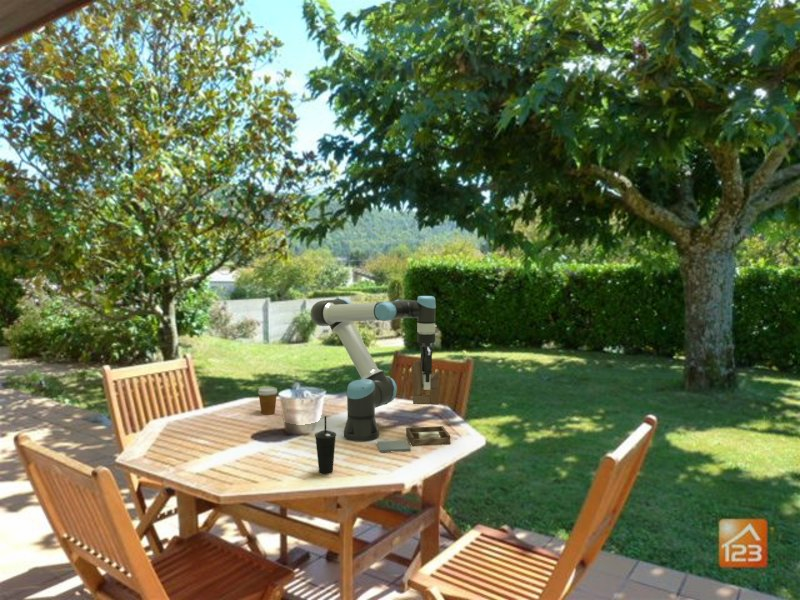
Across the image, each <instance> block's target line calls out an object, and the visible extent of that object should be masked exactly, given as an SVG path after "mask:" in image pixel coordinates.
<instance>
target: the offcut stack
mask: <svg viewBox="0 0 800 600" xmlns="http://www.w3.org/2000/svg"><path fill="white" fill-rule="evenodd" d="M418 436H419V439H427V438H441V437H440V435H439V433H438V432H418Z"/></svg>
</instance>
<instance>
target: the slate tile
mask: <svg viewBox="0 0 800 600" xmlns="http://www.w3.org/2000/svg"><path fill="white" fill-rule="evenodd" d="M376 445H377V448H378V447H379V448H378V450H379V453H380V452H383V453H392V452H391V451H402V452H411V451H410V450H411V449H412V448H411V447H410V445H409V442H408V441H407V440H406V439H401V440H400V439H399V440H398V439H397V440H382V441H380V440H378V441H376Z"/></svg>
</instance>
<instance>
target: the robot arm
mask: <svg viewBox="0 0 800 600" xmlns="http://www.w3.org/2000/svg"><path fill="white" fill-rule="evenodd" d="M436 304H437V303H436V298H435V296H432V295H419V296H417V299H416V300H415V299H414V300H411V299H396V300H394V301H379V302H378V301H377V302H363V303H362V302H360V303H359V302H358V303H351V302H350V301H349V300H347V299H343V298H335V299H328V300H327V299H326V300H319V301H317V302H316V303H314V304H313V305H312V307H311V309H310V318H311V320H312V321H313V323H315V325H318V326H320V327H328V326H329V329H331V331H332V333H335V334H337V335H338V337H339V339H340V341H341V343H342V345H343V347H344V349H345V351H346V352H347V355H348V356H349V358H350V360H351V361H352V363H353V365H354V366H355V369H356V371H357V373H358V374H359V376H360V378H361V379H356V380H353V381H351V382H349V384H348V385H347V390H346V391H347V392H346V397H347V398H346V399H347V401H346V402H347V403H346V404H347V405H346V406H347V411H346V413H347V417H346V418H347V419H346V422H345V426H344V429H343V438H344V439H346V440H347V441H353V442H366V441H367V442H368V441H373V440H375V439H378V438H379V436H380V430H379V427H378V424H377V421H376V413H375V412H376V408H379V407H381V406H385V405H388V404H389V403H391V402H393V400H394V399H395V398H396V397H397V392H398V388H397V384H396V381H395V379H394V378H392V377H389V376H387V375H386V374H385V371H384V370H383V369H379V368H378V366H377V364H376V362H375V360H374V359H373V356H372V354H371V353H370V351H369V350H368V348H367V346H366V345H365V343H364V341H363V339H362V337H361V335H360V333H359V331H358V330H357V328H356V326H355V322H367V321H368V322H369V321H370V322H371V321H382V322H388V321H394V320H399V319H400V320H401V319H407V318H409V319H417V320H416V321H417V322H416V327H417V330H416V331H417V334H416V335H417V336H416V337H417V343H418V344H419V343H420V344H421V345H420V347H419V349H420V361H422V385H423V384H424V388H423V390H424V391H427V390H428V391H430V377H431V375H433V374H432V373H433V350H432V349H433V347H432V346H431V345H432V344H434V343H436V334H435V333H436V328H437V324H436V308H437V306H436Z"/></svg>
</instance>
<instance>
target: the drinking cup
mask: <svg viewBox="0 0 800 600" xmlns="http://www.w3.org/2000/svg"><path fill="white" fill-rule="evenodd" d="M323 417H324V419H323V422H324V424H323V425H324V430H320V431H317V432H315V433H314V438H315V444H316V445H315V447H316V455H317V463H318V464H317V465H318V472H319V474H320V473H321V474H320V475H330V474H332V473H333V472H334V461H335V449H336V436H337V432H335V431H333V430H330V429H327V416H325V415H324V416H323ZM329 473H330V474H329Z"/></svg>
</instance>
